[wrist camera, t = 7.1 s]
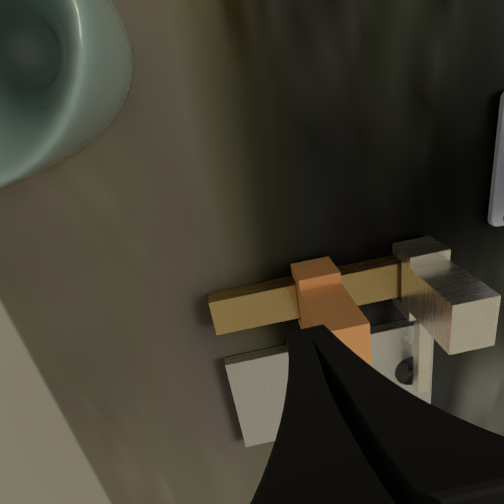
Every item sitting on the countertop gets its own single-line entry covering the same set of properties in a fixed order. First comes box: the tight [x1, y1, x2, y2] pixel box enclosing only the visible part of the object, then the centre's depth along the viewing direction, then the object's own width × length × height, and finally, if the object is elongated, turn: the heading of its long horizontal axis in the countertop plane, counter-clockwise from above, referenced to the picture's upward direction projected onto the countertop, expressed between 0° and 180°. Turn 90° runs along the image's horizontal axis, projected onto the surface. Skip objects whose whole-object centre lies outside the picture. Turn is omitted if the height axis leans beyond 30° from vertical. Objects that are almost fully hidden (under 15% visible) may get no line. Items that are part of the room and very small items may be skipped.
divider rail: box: [208, 236, 501, 393], centre depth 22 cm, size 14×11×6 cm
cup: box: [0, 0, 134, 188], centre depth 13 cm, size 8×8×10 cm
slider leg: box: [291, 256, 372, 366], centre depth 22 cm, size 2×11×6 cm, turn 10°
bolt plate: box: [225, 319, 434, 447], centre depth 27 cm, size 14×8×1 cm, turn 100°
